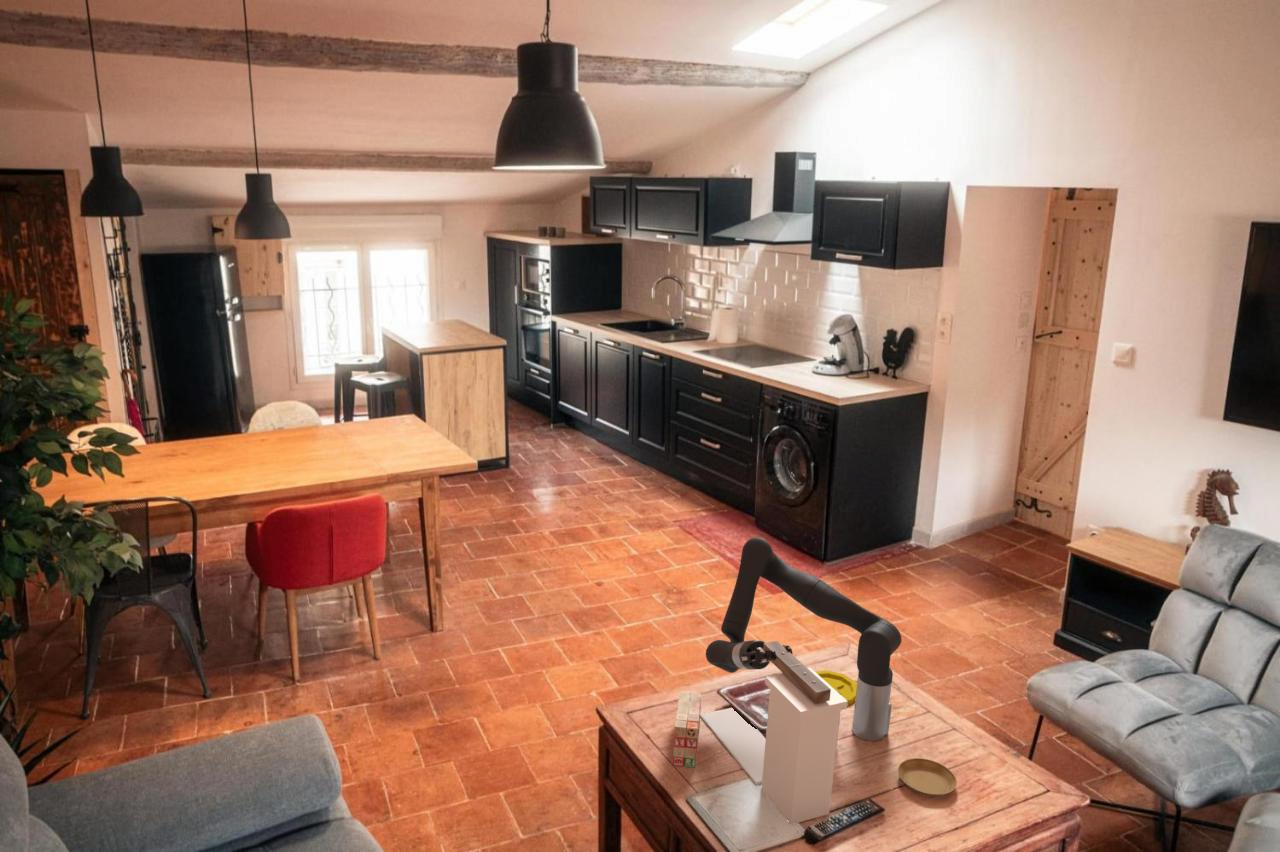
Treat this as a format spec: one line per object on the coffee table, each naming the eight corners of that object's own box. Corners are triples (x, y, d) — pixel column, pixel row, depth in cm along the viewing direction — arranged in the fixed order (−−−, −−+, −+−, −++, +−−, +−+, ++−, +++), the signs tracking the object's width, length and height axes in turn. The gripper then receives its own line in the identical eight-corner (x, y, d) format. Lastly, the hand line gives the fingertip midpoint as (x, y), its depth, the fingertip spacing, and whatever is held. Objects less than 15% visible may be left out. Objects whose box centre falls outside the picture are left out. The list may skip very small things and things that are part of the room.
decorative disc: (792, 679, 280) (792, 673, 280) (843, 673, 284) (844, 668, 284) (814, 709, 265) (815, 703, 264) (868, 703, 269) (869, 697, 268)
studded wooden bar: (776, 651, 231) (777, 640, 231) (829, 700, 210) (830, 688, 209) (762, 653, 230) (763, 642, 229) (815, 703, 209) (816, 692, 208)
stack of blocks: (678, 719, 257) (680, 681, 253) (700, 721, 256) (702, 683, 253) (672, 766, 236) (674, 725, 233) (695, 769, 235) (698, 728, 232)
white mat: (736, 708, 263) (736, 706, 263) (795, 774, 235) (795, 772, 235) (700, 716, 258) (700, 714, 258) (755, 784, 230) (756, 782, 230)
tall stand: (799, 776, 234) (810, 667, 225) (834, 815, 220) (847, 701, 211) (756, 787, 229) (765, 676, 220) (789, 828, 215) (800, 711, 206)
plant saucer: (884, 773, 237) (886, 764, 236) (928, 761, 243) (930, 752, 242) (922, 808, 224) (923, 800, 223) (968, 795, 230) (969, 786, 229)
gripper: (725, 645, 238) (755, 643, 223) (771, 636, 244) (803, 633, 228) (730, 674, 237) (761, 673, 221) (776, 664, 242) (809, 663, 226)
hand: (782, 653), depth 225 cm, fingers closed on studded wooden bar, 4 cm apart
